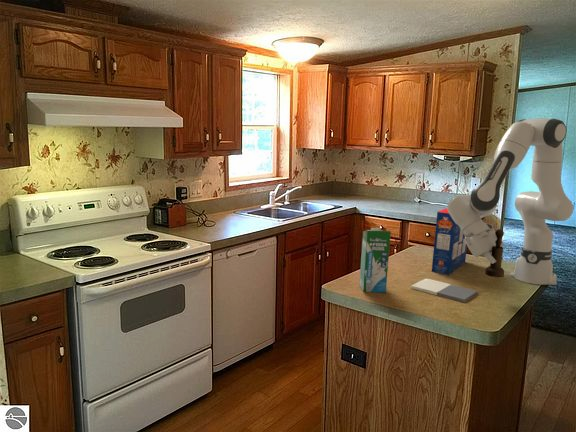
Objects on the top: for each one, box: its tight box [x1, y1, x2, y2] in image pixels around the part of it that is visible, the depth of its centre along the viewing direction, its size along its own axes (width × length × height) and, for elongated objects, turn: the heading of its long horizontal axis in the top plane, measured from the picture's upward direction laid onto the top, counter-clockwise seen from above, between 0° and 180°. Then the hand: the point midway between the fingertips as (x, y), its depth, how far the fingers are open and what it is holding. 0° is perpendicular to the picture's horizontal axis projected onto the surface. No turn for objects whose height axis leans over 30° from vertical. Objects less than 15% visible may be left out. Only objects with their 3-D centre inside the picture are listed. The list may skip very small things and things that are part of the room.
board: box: [410, 278, 479, 303], centre depth 193 cm, size 14×22×1 cm, turn 49°
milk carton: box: [359, 227, 392, 293], centre depth 190 cm, size 9×9×25 cm
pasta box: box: [431, 207, 468, 276], centre depth 226 cm, size 28×8×28 cm, turn 146°
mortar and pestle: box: [485, 228, 505, 278], centre depth 182 cm, size 7×6×18 cm
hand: (497, 261), depth 183 cm, fingers closed on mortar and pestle, 4 cm apart
